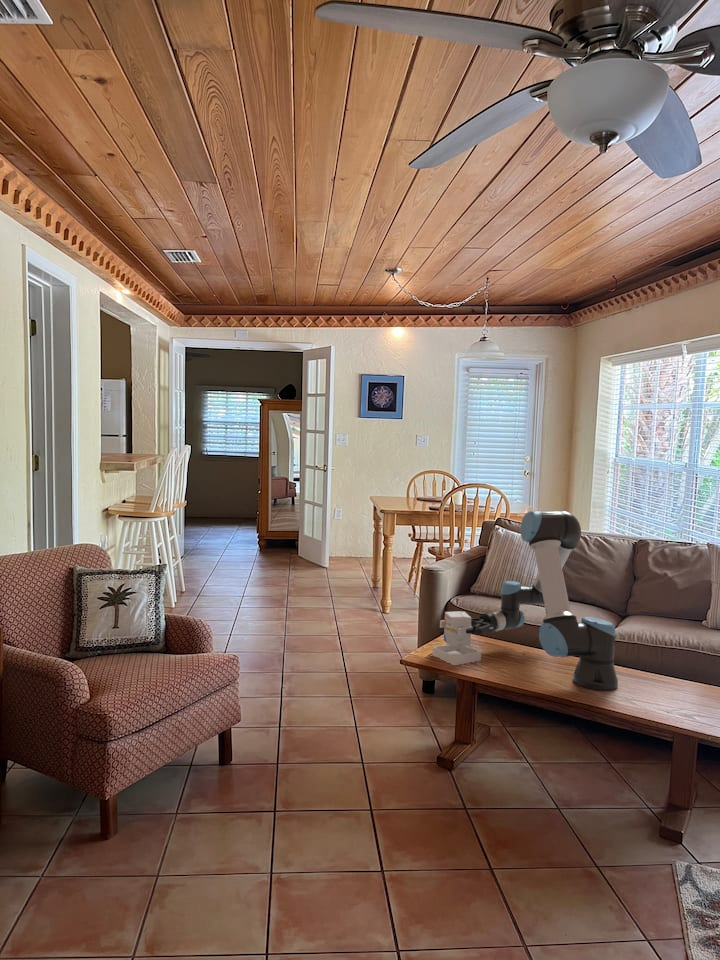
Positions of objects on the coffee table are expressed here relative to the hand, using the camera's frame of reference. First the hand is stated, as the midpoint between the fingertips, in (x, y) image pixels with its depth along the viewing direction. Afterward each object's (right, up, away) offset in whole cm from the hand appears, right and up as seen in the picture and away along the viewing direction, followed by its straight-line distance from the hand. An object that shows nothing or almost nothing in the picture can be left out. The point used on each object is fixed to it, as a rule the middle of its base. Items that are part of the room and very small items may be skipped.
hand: (449, 627), depth 257 cm
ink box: (+3, -7, +3) cm, 8 cm away
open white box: (+3, -13, +3) cm, 13 cm away
